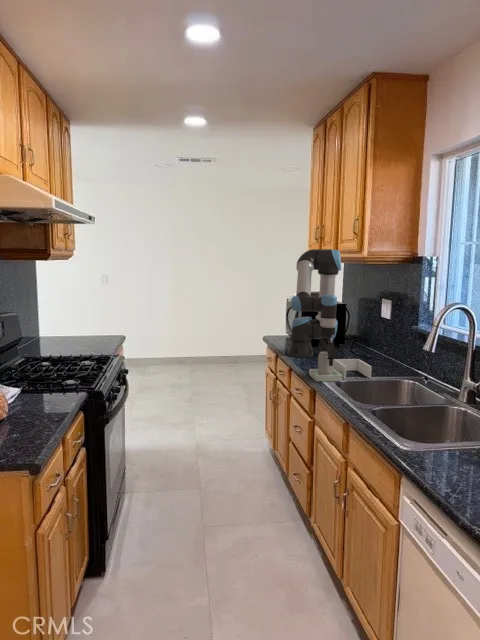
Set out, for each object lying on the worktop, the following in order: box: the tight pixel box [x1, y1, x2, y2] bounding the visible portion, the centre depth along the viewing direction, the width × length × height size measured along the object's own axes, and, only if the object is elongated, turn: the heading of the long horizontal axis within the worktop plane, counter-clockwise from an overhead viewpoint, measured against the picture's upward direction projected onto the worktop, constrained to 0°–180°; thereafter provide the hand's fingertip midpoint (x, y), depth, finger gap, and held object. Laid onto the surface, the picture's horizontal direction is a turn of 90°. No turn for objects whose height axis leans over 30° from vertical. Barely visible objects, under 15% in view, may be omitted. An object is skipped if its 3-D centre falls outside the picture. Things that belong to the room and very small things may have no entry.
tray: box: [308, 368, 343, 382], centre depth 236 cm, size 13×13×3 cm
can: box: [317, 350, 334, 375], centre depth 235 cm, size 8×8×12 cm
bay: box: [333, 358, 373, 379], centre depth 244 cm, size 17×14×6 cm
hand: (325, 368), depth 235 cm, fingers open, 13 cm apart
